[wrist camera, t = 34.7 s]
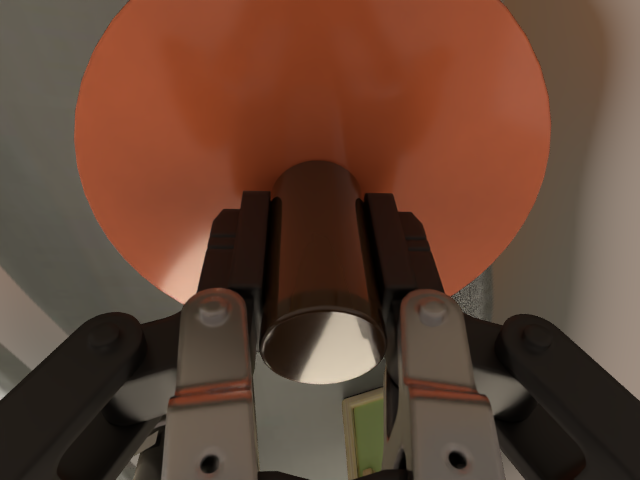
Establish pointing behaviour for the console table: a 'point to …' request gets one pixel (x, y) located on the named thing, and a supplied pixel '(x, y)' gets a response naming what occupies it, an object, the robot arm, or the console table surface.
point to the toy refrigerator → (363, 433)
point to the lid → (312, 149)
